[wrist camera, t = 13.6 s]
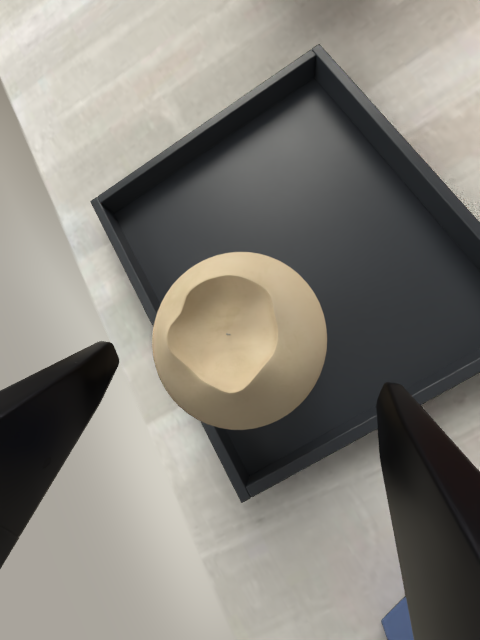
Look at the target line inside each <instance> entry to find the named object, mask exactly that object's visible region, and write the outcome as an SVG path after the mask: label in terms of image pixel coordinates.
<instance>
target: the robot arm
mask: <svg viewBox="0 0 480 640" xmlns="http://www.w3.org/2000/svg"><path fill="white" fill-rule="evenodd" d="M118 365H119V358H118V355H117V353H116V350H115V348H114V346H113V344H112V343H110V342H104V341H100V342H97V343H95V344H93V345H91V346H90V347H87V348H85V349H83V350H81V351H79V352H77V353H75V354H73V355H71V356H69V357H67V358H65V359H63V360H61V361H59V362H57V363H55V364H53V365H51V366H49V367H47V368H45V369H43V370H41V371H39V372H37V373H35V374H33V375H31V376H29V377H27V378H25V379H23V380H21V381H19V382H17V383H15V384H13V385H11V386H9V387H7V388H5V389H3V390H1V391H0V569H1V567H2V565H3V563H4V562H5V560H6V559H7V557H8V555H9V554H10V552H11V550H12V549H13V547H14V545H15V544H16V542H17V540H18V539H19V536H20V535H21V534H22V532H23V530H24V528H25V527H26V525H27V523H28V522H29V520H30V518H31V517H32V515H33V514H34V512H35V510H36V509H37V507H38V505H39V504H40V502H41V500H42V499H43V497H44V495H45V494H46V492H47V490H48V489H49V487H50V486H51V484H52V482H53V481H54V479H55V477H56V476H57V474H58V472H59V471H60V469H61V467H62V466H63V464H64V462H65V461H66V459H67V457H68V456H69V454H70V452H71V450H72V449H73V447H74V446H75V444H76V442H77V441H78V439H79V437H80V436H81V434H82V432H83V431H84V429H85V428H86V426H87V424H88V423H89V421H90V419H91V418H92V416H93V414H94V413H95V411H96V409H97V408H98V406H99V404H100V402H101V400H102V398H103V396H104V394H105V392H106V390H107V388H108V386H109V384H110V382H111V380H112V378H113V375H114V373H115V371H116V369H117V367H118ZM376 409H377V424H378V439H379V452H380V461H381V467H382V472H383V478H384V483H385V488H386V494H387V499H388V504H389V510H390V515H391V520H392V526H393V531H394V536H395V542H396V547H397V552H398V558H399V563H400V568H401V574H402V579H403V584H404V590H405V595H406V600H407V606H408V611H409V616H410V622H411V627H412V632H413V638H414V640H480V472H479V470H478V469H477V468H476V467H475V466H474V465H473V464H472V463H471V461H470V460H469V459H468V458H467V457H466V456H465V455H464V454H463V453H462V451H461V450H460V449H459V448H458V447H457V446H456V445H455V444H454V442H453V441H452V440H451V439H450V438H449V437H448V436H447V435H446V433H445V432H444V431H443V430H442V429H441V428H440V427H439V426H438V425H437V423H436V422H435V421H434V420H433V419H432V418H431V417H430V416H429V414H428V413H427V412H426V411H425V410H424V409H423V408H422V407H421V405H420V404H419V403H418V402H417V401H416V400H415V399H414V398H413V397H412V395H411V394H410V393H409V392H408V391H407V390H406V389H405V388H404V386H402V385H401V384H398V383H391V382H386V383H384V385H383V387H382V389H381V392H380V394H379V396H378V399H377V404H376Z"/></svg>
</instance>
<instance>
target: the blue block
mask: <svg viewBox="0 0 480 640" xmlns="http://www.w3.org/2000/svg"><path fill="white" fill-rule="evenodd" d="M381 622H382V625H383V628H384V631H385V633H386V636H387V639H388V640H414V638H413V632H412V627H411V622H410V616H409V611H408V606H407V600H406V596H405V597H404V598H403V599H402V600H401V601H400V602H399V603H398V604H397V605H396V606H395V607H394V608H393V609H392V610H391V611H390V612H389V613H388V614H387V615H386V616H385V617H384V618H383V619H382V620H381Z"/></svg>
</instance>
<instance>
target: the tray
mask: <svg viewBox="0 0 480 640" xmlns="http://www.w3.org/2000/svg"><path fill="white" fill-rule="evenodd" d="M91 204H92V206H93V208H94V210H95V212H96V214H97V216H98V218H99V220H100V222H101V224H102V226H103V228H104V230H105V232H106V234H107V236H108V238H109V240H110V242H111V244H112V246H113V248H114V250H115V252H116V254H117V256H118V258H119V260H120V262H121V264H122V266H123V268H124V270H125V272H126V274H127V276H128V278H129V280H130V282H131V283H132V285H133V287H134V289H135V291H136V293H137V295H138V297H139V299H140V301H141V303H142V305H143V307H144V309H145V311H146V313H147V315H148V317H149V319H150V321H151V323H152V325H153V327H154V323H155V319H156V315H157V312H158V310H159V307H160V305H161V302H162V301H163V299H164V297H165V295H166V293H167V292H168V291H169V289H170V288H171V286H172V285H173V284H174V283H175V282H176V281H177V279H178V278H179V277H180V276H182V275H183V274H184V273H185V272H186V271H187V270H189V269H190V268H192V267H193V266H195V265H196V264H198V263H200V262H202V261H204V260H206V259H208V258H211V257H213V256H216V255H220V254H225V253H232V252H251V253H258V254H262V255H265V256H269V257H272V258H274V259H276V260H278V261H281V262H282V263H284V264H286V265H287V266H289V267H290V268H292V269H293V270H294V271H295V272H297V273H298V274H299V275H300V276H301V277H302V278H303V279H304V280H305V281H306V282H307V284H308V285H309V286H310V288H311V289H312V290H313V292H314V294H315V295H316V297H317V299H318V301H319V303H320V306H321V308H322V311H323V314H324V318H325V323H326V329H327V351H326V356H325V361H324V365H323V368H322V371H321V374H320V376H319V378H318V380H317V382H316V384H315V386H314V387H313V389H312V390H311V392H310V393H309V395H308V396H307V397H306V398H305V399H304V401H303V402H302V403H301V404H300V405H299V406H298V407H297V408H295V409H294V410H293V411H292V412H290V413H289V414H288V415H286V416H284V417H283V418H281V419H280V420H278V421H275V422H273V423H271V424H268V425H265V426H262V427H258V428H254V429H246V430H230V429H224V428H218V427H215V426H212V425H208V424H206V423H204V422H202V421H201V423H202V425H203V427H204V429H205V431H206V433H207V435H208V437H209V439H210V441H211V443H212V445H213V447H214V449H215V451H216V453H217V455H218V457H219V459H220V461H221V463H222V465H223V467H224V469H225V471H226V473H227V475H228V477H229V479H230V481H231V483H232V485H233V487H234V489H235V491H236V493H237V495H238V497H239V499H240V501H241V503H243V502H244V501H246V500H248V499H250V498H251V497H254V496H255V495H257V494H259V493H261V492H263V491H264V490H266V489H268V488H270V487H272V486H274V485H275V484H277V483H279V482H281V481H283V480H285V479H286V478H288V477H290V476H292V475H294V474H296V473H297V472H299V471H301V470H303V469H305V468H306V467H308V466H310V465H312V464H314V463H316V462H317V461H319V460H321V459H323V458H325V457H327V456H328V455H330V454H332V453H334V452H336V451H338V450H339V449H341V448H343V447H345V446H347V445H348V444H350V443H352V442H354V441H356V440H358V439H359V438H361V437H363V436H365V435H367V434H369V433H370V432H372V431H374V430H376V429H378V424H377V409H376V404H377V399H378V396H379V394H380V392H381V389H382V387H383V385H384V383H386V382H391V383H398V384H401V385H402V386H404V388H405V389H406V390H407V391H408V392H409V393H410V394H411V395H412V397H413V398H414V399H415V400H416V401H417V402H418V403H419V404H420V405H422V404H423V403H425V402H427V401H429V400H431V399H432V398H434V397H436V396H438V395H440V394H442V393H443V392H445V391H447V390H449V389H451V388H453V387H454V386H456V385H458V384H460V383H462V382H464V381H465V380H467V379H469V378H471V377H473V376H474V375H476V374H478V373H480V222H479V221H478V220H477V219H476V218H475V217H474V215H473V214H472V213H471V212H470V211H469V210H468V209H467V208H466V207H465V205H464V204H463V203H462V202H461V201H460V200H459V199H458V198H457V197H456V195H455V194H454V193H453V192H452V191H451V190H450V189H449V188H448V187H447V185H446V184H445V183H444V182H443V181H442V180H441V179H440V178H439V177H438V175H437V174H436V173H435V172H434V171H433V170H432V169H431V168H430V166H429V165H428V164H427V163H426V162H425V161H424V160H423V159H422V158H421V156H420V155H419V154H418V153H417V152H416V151H415V150H414V149H413V148H412V146H411V145H410V144H409V143H408V142H407V141H406V140H405V139H404V138H403V136H402V135H401V134H400V133H399V132H398V131H397V130H396V129H395V128H394V126H393V125H392V124H391V123H390V122H389V121H388V120H387V119H386V118H385V116H384V115H383V114H382V113H381V112H380V111H379V110H378V109H377V108H376V106H375V105H374V104H373V103H372V102H371V101H370V100H369V99H368V98H367V96H366V95H365V94H364V93H363V92H362V91H361V90H360V89H359V87H358V86H357V85H356V84H355V83H354V82H353V81H352V80H351V79H350V77H349V76H348V75H347V74H346V73H345V72H344V71H343V70H342V69H341V67H340V66H339V65H338V64H337V63H336V62H335V61H334V60H333V59H332V57H331V56H330V55H329V54H328V53H327V52H326V51H325V50H324V49H323V47H322V46H321V45H320V44H318V45H317V46H315V47H314V48H312V50H309V51H308V52H307V53H305V54H304V55H302V56H301V57H299V58H298V59H296V60H295V61H294V62H292V63H291V64H289V65H288V66H286V67H285V68H283V69H282V70H280V71H279V72H278V73H276V74H275V75H273V76H272V77H270V78H269V79H267V80H266V81H264V82H263V83H262V84H260V85H259V86H257V87H256V88H254V89H253V90H251V91H250V92H249V93H247V94H246V95H244V96H243V97H241V98H240V99H238V100H237V101H235V102H234V103H233V104H231V105H230V106H228V107H227V108H225V109H224V110H222V111H221V112H219V113H218V114H217V115H215V116H214V117H212V118H211V119H209V120H208V121H206V122H205V123H204V124H202V125H201V126H199V127H198V128H196V129H195V130H193V131H192V132H190V133H189V134H188V135H186V136H185V137H183V138H182V139H180V140H179V141H177V142H176V143H174V144H173V145H172V146H170V147H169V148H167V149H166V150H164V151H163V152H161V153H160V154H159V155H157V156H156V157H154V158H153V159H151V160H150V161H148V162H147V163H145V164H144V165H143V166H141V167H140V168H138V169H137V170H135V171H134V172H132V173H131V174H129V175H128V176H127V177H125V178H124V179H122V180H121V181H119V182H118V183H116V184H115V185H114V186H112V187H111V188H109V189H108V190H106V191H105V192H103V193H102V194H100V195H99V196H98V197H96V198H95V199H93V200H92V201H91Z"/></svg>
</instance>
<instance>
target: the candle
mask: <svg viewBox="0 0 480 640" xmlns="http://www.w3.org/2000/svg"><path fill="white" fill-rule="evenodd" d="M152 348H153V357H154V362H155V366H156V369H157V372H158V375H159V378H160V380H161V382H162V384H163V386H164V387H165V389H166V391H167V392H168V393H169V395H170V396H171V398H172V399H173V400H174V401H175V402H176V403H177V404H178V405H179V406H180V407H181V408H182V409H183V410H184V411H186V412H187V413H188V414H189V415H191V416H193V417H194V418H196V419H197V420H199V421H202V422H204V423H206V424H208V425H212V426H215V427H218V428H224V429H230V430H246V429H254V428H258V427H262V426H265V425H268V424H271V423H273V422H275V421H278V420H280V419H281V418H283V417H284V416H286V415H288V414H289V413H290V412H292V411H293V410H294V409H295V408H297V407H298V406H299V405H300V404H301V403H302V402H303V401H304V399H305V398H306V397H307V396H308V395H309V393H310V392H311V390H312V389H313V387H314V386H315V384H316V382H317V380H318V378H319V376H320V374H321V371H322V368H323V365H324V361H325V356H326V351H327V329H326V323H325V318H324V314H323V311H322V308H321V306H320V303H319V301H318V299H317V297H316V295H315V294H314V292H313V290H312V289H311V288H310V286H309V285H308V284H307V282H306V281H305V280H304V279H303V278H302V277H301V276H300V275H299V274H298V273H297V272H295V271H294V270H293V269H292V268H290V267H289V266H287V265H286V264H284V263H282V262H281V261H278V260H276V259H274V258H272V257H269V256H265V255H262V254H258V253H251V252H232V253H225V254H220V255H216V256H213V257H211V258H208V259H206V260H204V261H202V262H200V263H198V264H196V265H195V266H193V267H192V268H190V269H189V270H187V271H186V272H185V273H184V274H183V275H182V276H180V277H179V278H178V279H177V281H176V282H175V283H174V284H173V285H172V286H171V288H170V289H169V291H168V292H167V293H166V295H165V297H164V299H163V301H162V302H161V305H160V307H159V310H158V312H157V315H156V319H155V323H154V328H153V337H152Z"/></svg>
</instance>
